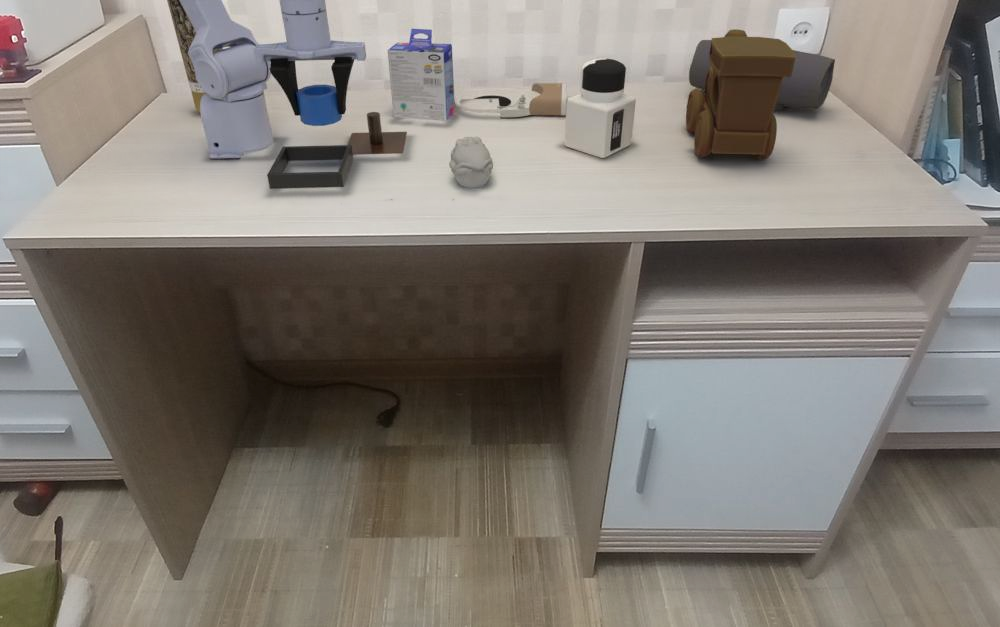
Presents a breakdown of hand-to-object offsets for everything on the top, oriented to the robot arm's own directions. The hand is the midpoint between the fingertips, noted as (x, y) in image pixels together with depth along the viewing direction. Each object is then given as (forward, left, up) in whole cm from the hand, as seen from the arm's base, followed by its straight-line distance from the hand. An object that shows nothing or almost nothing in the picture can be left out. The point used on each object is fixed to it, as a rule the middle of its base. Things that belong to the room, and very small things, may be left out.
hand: (320, 112), depth 99 cm
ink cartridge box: (+13, +21, -9) cm, 27 cm away
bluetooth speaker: (+72, +25, -9) cm, 77 cm away
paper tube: (-25, +28, -9) cm, 39 cm away
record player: (+28, +26, -9) cm, 40 cm away
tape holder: (+6, +8, -9) cm, 14 cm away
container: (+41, +7, -9) cm, 43 cm away
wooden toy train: (+61, +6, -9) cm, 62 cm away
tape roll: (0, 0, -1) cm, 1 cm away
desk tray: (-2, -3, -9) cm, 9 cm away
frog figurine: (+21, -7, -9) cm, 24 cm away
